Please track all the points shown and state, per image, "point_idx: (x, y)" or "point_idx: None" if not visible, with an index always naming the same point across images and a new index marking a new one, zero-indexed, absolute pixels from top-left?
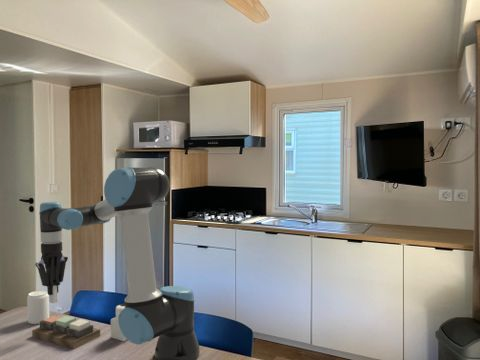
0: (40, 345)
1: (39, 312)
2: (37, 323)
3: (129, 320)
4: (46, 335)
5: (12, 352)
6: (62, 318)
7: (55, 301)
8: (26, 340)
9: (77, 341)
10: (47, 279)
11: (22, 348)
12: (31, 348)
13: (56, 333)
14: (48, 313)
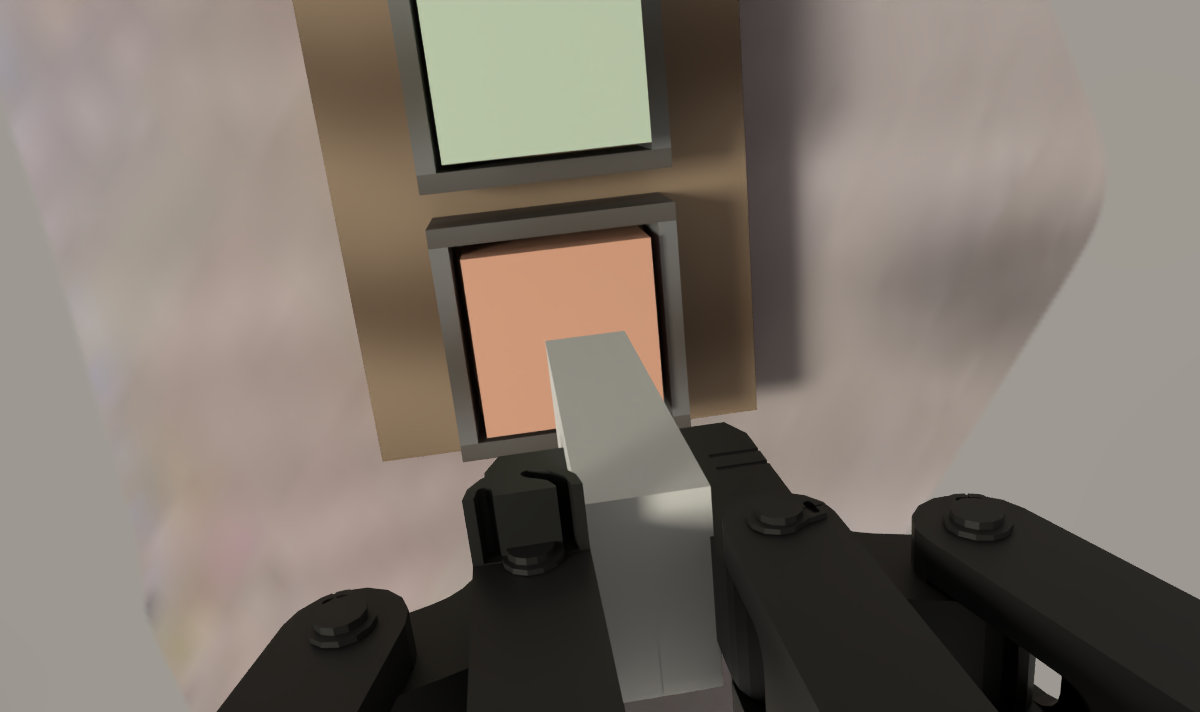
0: (826, 92)
1: None
2: None
3: None
4: (741, 148)
5: (1052, 188)
6: (552, 113)
7: (590, 345)
8: (820, 345)
9: None
10: (1142, 656)
11: (955, 191)
12: (915, 106)
13: (667, 56)
14: None
